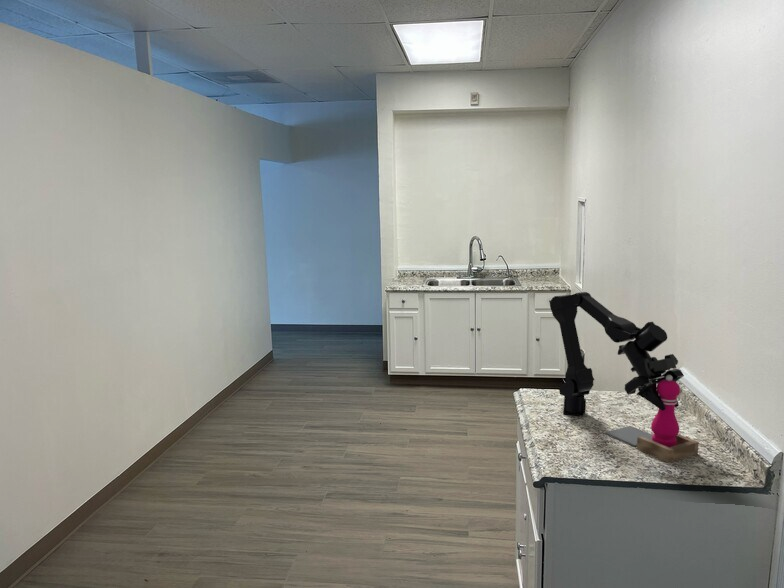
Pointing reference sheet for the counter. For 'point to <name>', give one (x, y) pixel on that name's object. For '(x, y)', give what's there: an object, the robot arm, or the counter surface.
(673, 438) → the pepper mill
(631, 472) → the counter surface
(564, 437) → the counter surface
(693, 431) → the counter surface
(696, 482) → the counter surface
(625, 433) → the rubber mat
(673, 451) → the walnut cradle
